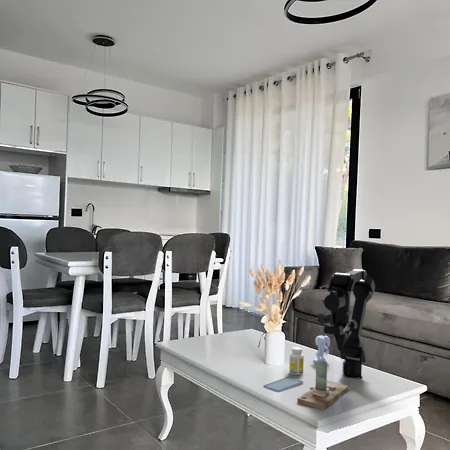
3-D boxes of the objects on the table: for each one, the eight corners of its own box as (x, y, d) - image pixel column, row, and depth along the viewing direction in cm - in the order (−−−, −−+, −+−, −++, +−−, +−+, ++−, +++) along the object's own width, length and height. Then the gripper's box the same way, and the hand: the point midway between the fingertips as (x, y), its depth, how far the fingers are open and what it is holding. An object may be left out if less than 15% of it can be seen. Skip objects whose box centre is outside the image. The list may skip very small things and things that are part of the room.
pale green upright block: (313, 388, 158) (314, 358, 158) (329, 392, 155) (330, 361, 155) (307, 392, 154) (308, 361, 154) (323, 397, 151) (324, 365, 151)
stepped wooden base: (325, 384, 169) (325, 377, 169) (348, 389, 164) (349, 383, 164) (297, 402, 149) (297, 395, 149) (323, 409, 144) (323, 402, 144)
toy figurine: (320, 359, 202) (321, 331, 202) (331, 363, 196) (332, 335, 196) (309, 361, 198) (310, 333, 198) (319, 365, 193) (320, 336, 193)
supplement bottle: (301, 371, 183) (302, 346, 183) (304, 375, 178) (305, 350, 178) (288, 370, 183) (289, 346, 183) (290, 375, 178) (291, 349, 178)
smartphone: (262, 385, 164) (288, 376, 174) (262, 388, 164) (288, 379, 174) (278, 391, 158) (304, 381, 169) (278, 394, 158) (304, 384, 169)
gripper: (330, 302, 180) (329, 341, 180) (310, 307, 165) (308, 351, 165) (358, 305, 174) (356, 347, 174) (340, 311, 159) (338, 357, 158)
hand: (340, 350), depth 168 cm, fingers closed
